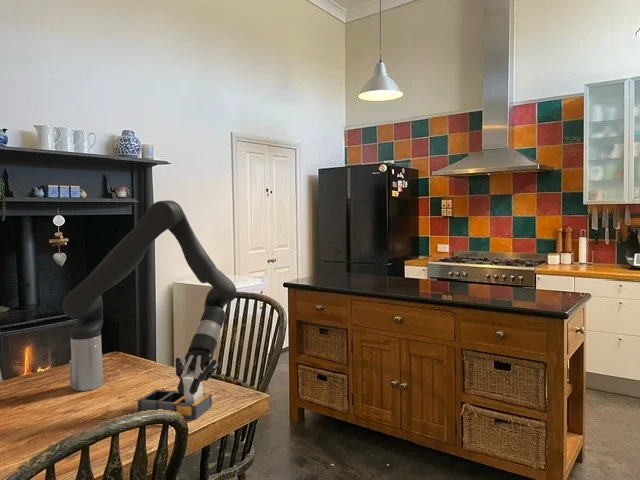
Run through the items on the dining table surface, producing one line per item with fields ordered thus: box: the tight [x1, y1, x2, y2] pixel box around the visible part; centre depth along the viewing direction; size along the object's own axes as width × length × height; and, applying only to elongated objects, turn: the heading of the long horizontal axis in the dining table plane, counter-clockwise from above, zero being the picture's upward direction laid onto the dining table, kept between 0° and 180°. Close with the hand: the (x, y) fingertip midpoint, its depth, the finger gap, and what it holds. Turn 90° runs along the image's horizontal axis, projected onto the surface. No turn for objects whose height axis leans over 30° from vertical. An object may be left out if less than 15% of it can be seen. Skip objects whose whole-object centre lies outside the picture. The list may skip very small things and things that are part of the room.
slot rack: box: [137, 389, 213, 420], centre depth 136 cm, size 19×9×4 cm, turn 75°
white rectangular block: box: [182, 371, 204, 404], centre depth 135 cm, size 3×5×8 cm, turn 165°
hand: (186, 392), depth 131 cm, fingers closed on white rectangular block, 3 cm apart
